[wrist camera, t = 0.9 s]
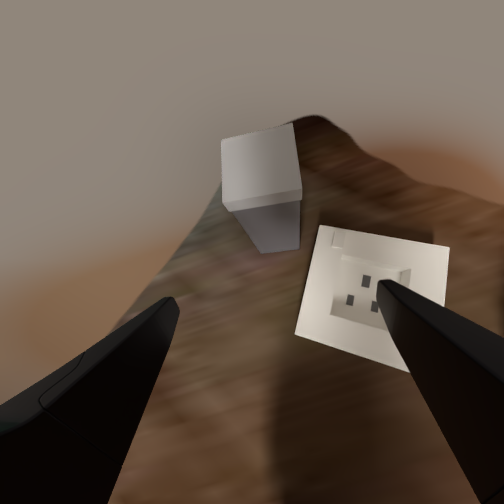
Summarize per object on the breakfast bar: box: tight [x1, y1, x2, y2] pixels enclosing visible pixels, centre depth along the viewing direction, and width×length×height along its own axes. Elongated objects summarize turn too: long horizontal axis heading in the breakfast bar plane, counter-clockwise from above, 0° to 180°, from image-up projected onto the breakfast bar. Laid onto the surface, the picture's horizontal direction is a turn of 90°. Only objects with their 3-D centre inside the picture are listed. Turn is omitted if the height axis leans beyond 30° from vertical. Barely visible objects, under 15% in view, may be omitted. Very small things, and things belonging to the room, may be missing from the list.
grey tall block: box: [221, 123, 302, 254], centre depth 18 cm, size 5×5×12 cm
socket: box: [295, 225, 449, 372], centre depth 19 cm, size 11×11×3 cm
